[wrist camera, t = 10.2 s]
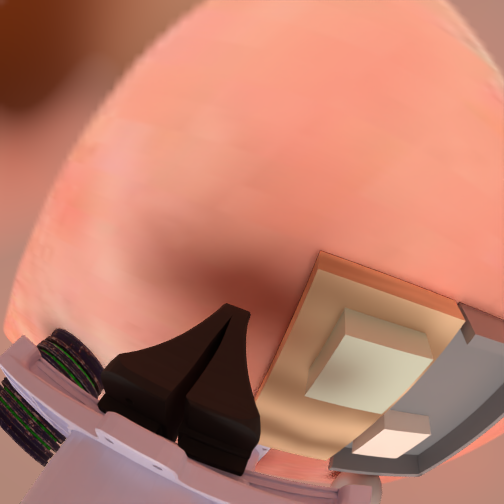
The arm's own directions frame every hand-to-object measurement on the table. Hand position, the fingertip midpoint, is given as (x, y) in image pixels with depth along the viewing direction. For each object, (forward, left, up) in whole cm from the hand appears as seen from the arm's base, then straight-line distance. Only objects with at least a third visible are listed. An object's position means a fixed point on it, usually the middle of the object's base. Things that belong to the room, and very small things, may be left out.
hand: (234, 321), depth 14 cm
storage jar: (-20, +18, -3) cm, 27 cm away
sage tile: (0, -7, -1) cm, 7 cm away
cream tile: (-9, -15, -2) cm, 18 cm away
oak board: (-5, -7, -3) cm, 10 cm away
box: (-5, -18, -3) cm, 19 cm away
